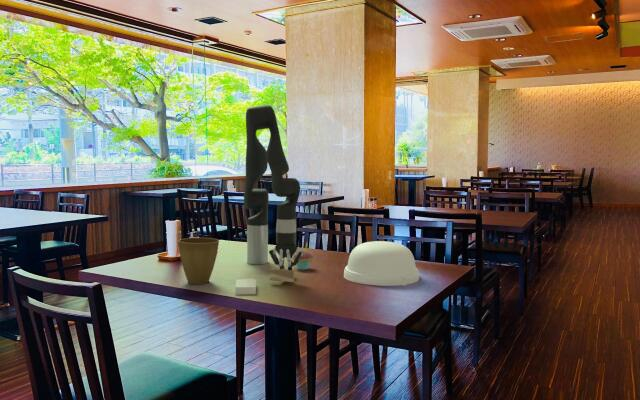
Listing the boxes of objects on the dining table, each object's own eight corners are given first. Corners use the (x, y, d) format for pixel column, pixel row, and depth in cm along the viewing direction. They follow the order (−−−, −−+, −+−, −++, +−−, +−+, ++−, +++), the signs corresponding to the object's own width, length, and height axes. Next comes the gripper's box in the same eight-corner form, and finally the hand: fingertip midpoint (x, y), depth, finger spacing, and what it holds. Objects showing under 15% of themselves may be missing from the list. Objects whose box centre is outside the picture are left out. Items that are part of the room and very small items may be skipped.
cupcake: (316, 267, 224) (316, 240, 224) (307, 271, 217) (307, 242, 216) (298, 265, 228) (298, 238, 227) (289, 269, 220) (289, 241, 219)
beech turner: (280, 276, 206) (280, 266, 206) (302, 277, 204) (302, 267, 204) (269, 280, 193) (270, 269, 193) (292, 281, 191) (293, 270, 191)
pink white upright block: (236, 279, 190) (235, 287, 178) (255, 279, 191) (255, 286, 179) (236, 287, 190) (235, 295, 178) (255, 286, 191) (255, 295, 179)
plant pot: (200, 288, 185) (200, 244, 184) (169, 283, 192) (169, 240, 191) (227, 280, 198) (227, 239, 197) (197, 276, 205) (197, 236, 204)
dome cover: (329, 272, 216) (329, 239, 215) (389, 267, 229) (390, 235, 228) (370, 290, 187) (371, 251, 186) (436, 282, 200) (437, 246, 199)
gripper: (306, 230, 199) (306, 275, 200) (271, 228, 202) (271, 273, 203) (301, 232, 192) (300, 279, 193) (265, 231, 195) (265, 277, 196)
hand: (285, 275), depth 198 cm, fingers closed on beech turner, 2 cm apart
